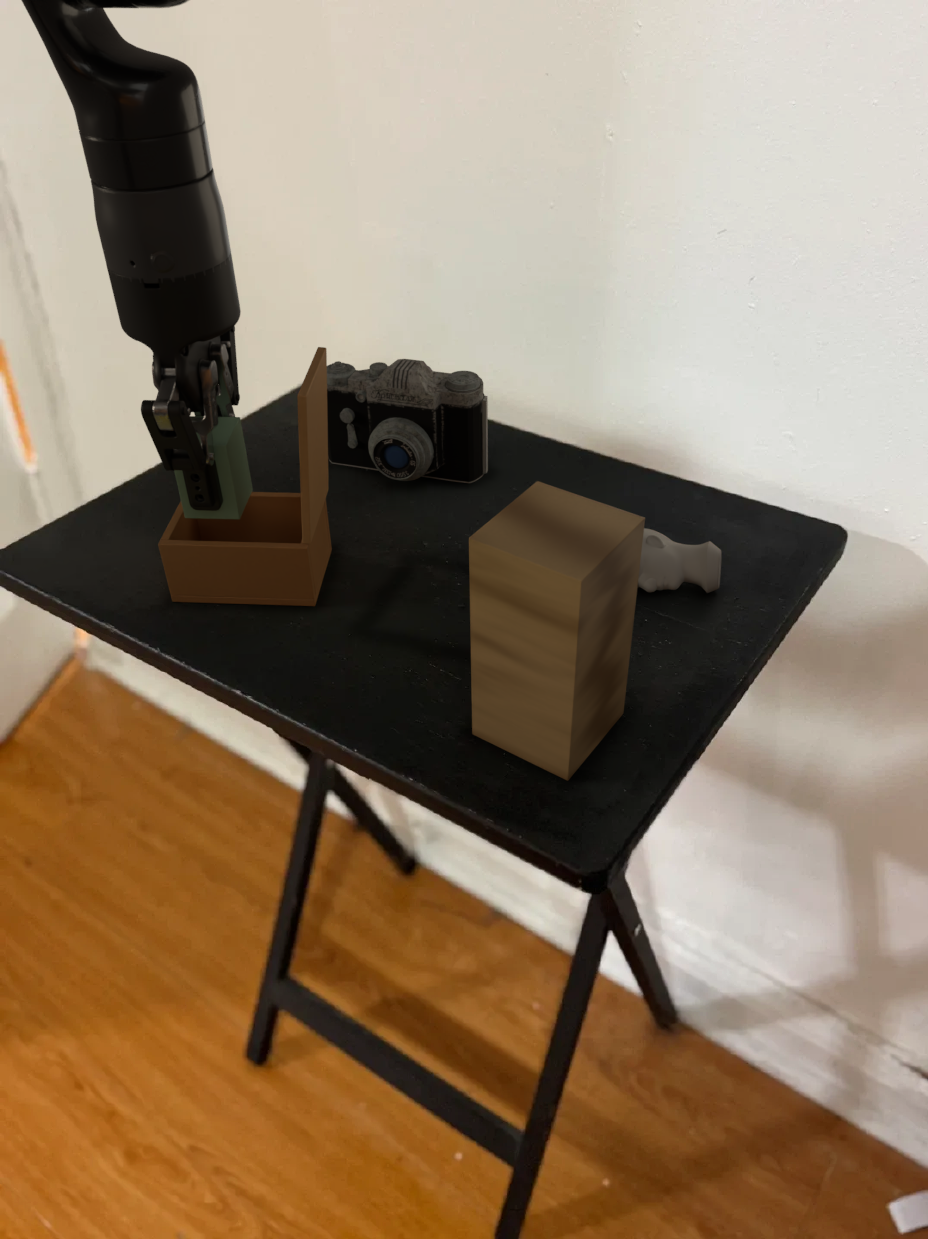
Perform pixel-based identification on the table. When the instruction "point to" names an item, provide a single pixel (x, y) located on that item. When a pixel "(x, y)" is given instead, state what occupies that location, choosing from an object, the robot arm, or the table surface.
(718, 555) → the pale two-lobed sculpture
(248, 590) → the case
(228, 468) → the block
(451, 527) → the table surface
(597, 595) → the post
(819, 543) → the table surface
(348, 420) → the camera
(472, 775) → the table surface
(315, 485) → the case lid
